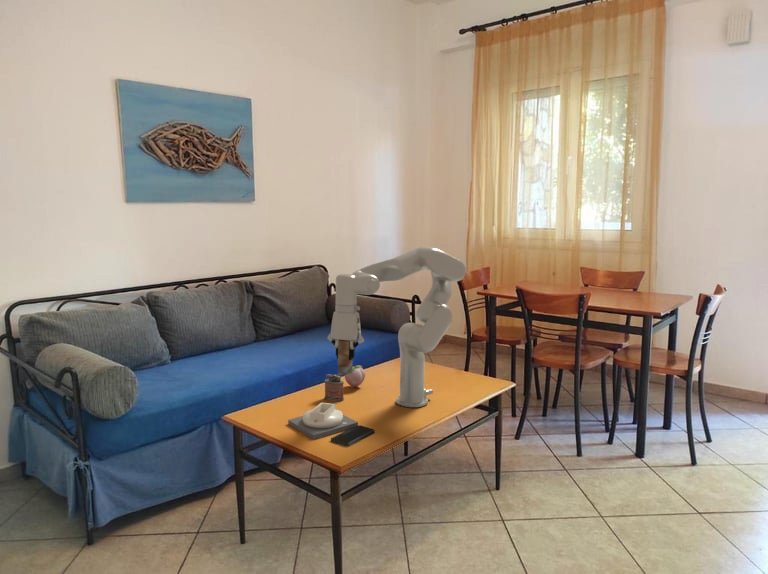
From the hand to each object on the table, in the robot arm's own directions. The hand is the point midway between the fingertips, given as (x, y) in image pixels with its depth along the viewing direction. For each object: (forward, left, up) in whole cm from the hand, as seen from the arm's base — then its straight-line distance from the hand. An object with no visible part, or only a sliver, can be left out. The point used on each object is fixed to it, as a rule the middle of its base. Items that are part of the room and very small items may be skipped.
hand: (345, 358), depth 198 cm
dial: (+11, +2, -20) cm, 23 cm away
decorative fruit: (-22, -25, -22) cm, 39 cm away
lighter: (-7, -18, -22) cm, 29 cm away
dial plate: (+11, +2, -22) cm, 25 cm away
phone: (+9, +17, -22) cm, 29 cm away
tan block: (0, 0, -5) cm, 5 cm away
